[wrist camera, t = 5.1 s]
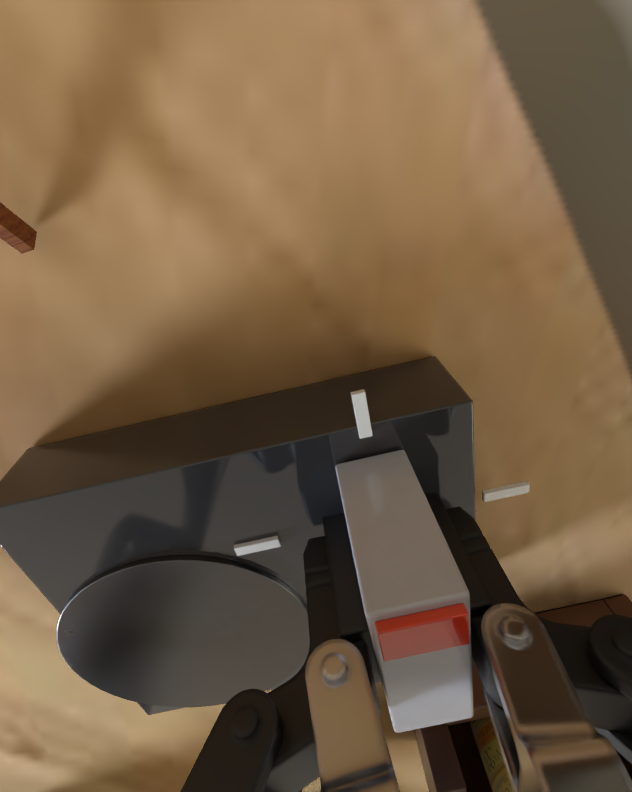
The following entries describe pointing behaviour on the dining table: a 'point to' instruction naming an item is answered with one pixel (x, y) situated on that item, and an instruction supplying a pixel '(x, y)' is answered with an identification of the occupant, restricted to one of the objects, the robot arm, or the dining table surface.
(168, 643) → the burner ring
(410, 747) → the dining table surface
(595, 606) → the spice rack
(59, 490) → the hob
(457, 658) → the knob
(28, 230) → the glasses
